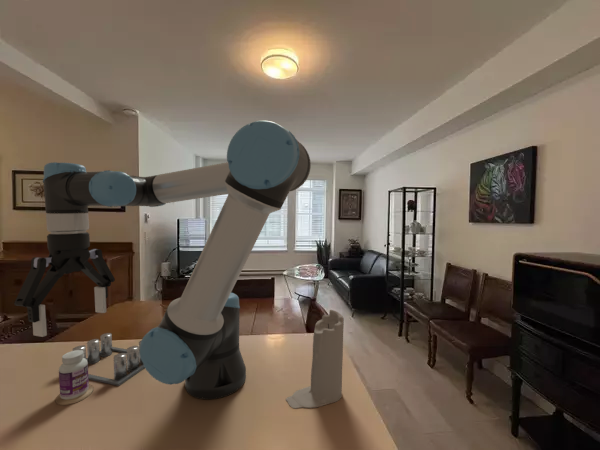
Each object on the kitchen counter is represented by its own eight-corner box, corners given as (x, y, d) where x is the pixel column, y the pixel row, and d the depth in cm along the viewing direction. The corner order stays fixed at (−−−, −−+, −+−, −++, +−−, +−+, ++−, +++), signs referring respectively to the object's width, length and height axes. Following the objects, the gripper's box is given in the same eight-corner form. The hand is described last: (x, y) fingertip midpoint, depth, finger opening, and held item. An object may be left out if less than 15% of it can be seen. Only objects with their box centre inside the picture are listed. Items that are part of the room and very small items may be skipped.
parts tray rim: (160, 357, 84) (160, 355, 84) (118, 386, 70) (118, 383, 70) (109, 348, 89) (109, 346, 89) (62, 373, 75) (62, 371, 75)
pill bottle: (77, 400, 64) (74, 360, 64) (54, 400, 64) (51, 360, 64) (94, 385, 70) (92, 348, 69) (73, 385, 70) (70, 348, 69)
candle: (282, 394, 68) (283, 314, 67) (332, 381, 74) (334, 306, 72) (293, 414, 62) (294, 326, 60) (347, 398, 67) (349, 317, 66)
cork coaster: (100, 388, 69) (100, 386, 69) (70, 407, 63) (70, 406, 63) (78, 383, 71) (78, 381, 71) (47, 401, 65) (47, 400, 64)
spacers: (152, 359, 83) (152, 340, 82) (120, 381, 72) (119, 359, 72) (107, 351, 87) (106, 332, 86) (70, 370, 76) (69, 349, 76)
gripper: (106, 227, 77) (109, 303, 79) (-16, 237, 53) (-8, 345, 55) (128, 228, 75) (131, 305, 77) (12, 238, 51) (19, 350, 53)
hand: (73, 322), depth 66 cm, fingers open, 13 cm apart
